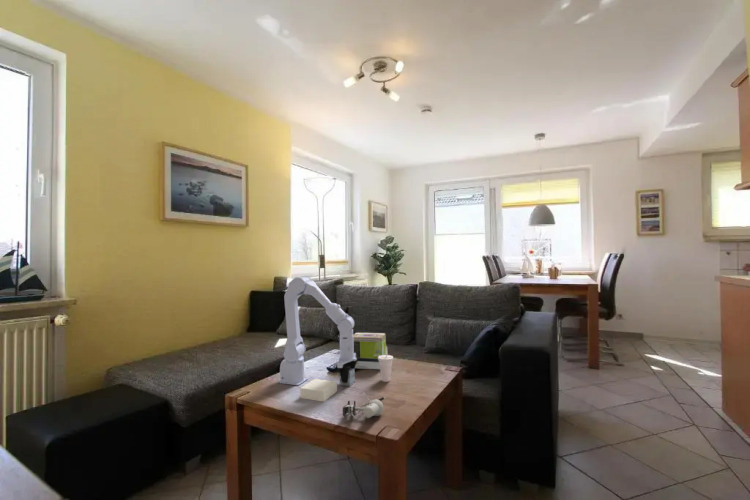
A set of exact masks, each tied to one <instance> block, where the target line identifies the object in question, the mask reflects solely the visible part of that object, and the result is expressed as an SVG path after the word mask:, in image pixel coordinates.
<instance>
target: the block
mask: <svg viewBox="0 0 750 500" xmlns="http://www.w3.org/2000/svg"><path fill="white" fill-rule="evenodd" d="M355 370H356V368H354V369H352V368H350V370H349V374H348V382H347V383H343V382H342V380H341V376H340V375H339V385H340V386H345V387H351V386H352V385H353V384H355V382H356V379H355V378H356V377H355V376H356V373H355Z"/></svg>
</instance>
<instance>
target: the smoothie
mask: <svg viewBox="0 0 750 500" xmlns="http://www.w3.org/2000/svg"><path fill="white" fill-rule="evenodd" d="M378 360H379V365H380V369H379V371H380V378H381V382H384V383H386V382H387V383H388V382H390V381H391V376H392V368H393V360H394V356H393V355H390V354H388V346H387V345H386V355H380V356H379V357H378Z"/></svg>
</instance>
